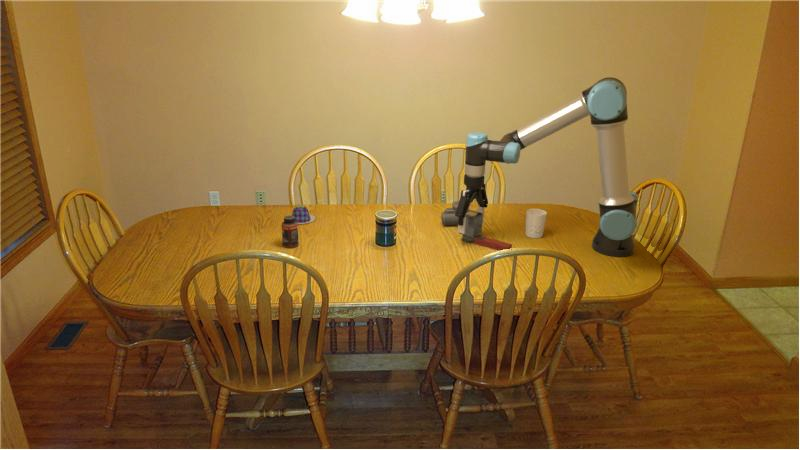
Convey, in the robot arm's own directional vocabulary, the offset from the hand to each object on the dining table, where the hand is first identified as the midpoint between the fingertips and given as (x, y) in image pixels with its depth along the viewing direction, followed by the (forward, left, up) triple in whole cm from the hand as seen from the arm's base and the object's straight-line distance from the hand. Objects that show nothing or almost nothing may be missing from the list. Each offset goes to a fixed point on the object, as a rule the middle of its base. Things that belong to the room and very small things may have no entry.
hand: (470, 227), depth 226 cm
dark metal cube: (0, 0, -2) cm, 2 cm away
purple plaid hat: (+66, +27, -6) cm, 71 cm away
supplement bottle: (+49, +48, -5) cm, 69 cm away
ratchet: (-7, 0, -5) cm, 9 cm away
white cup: (-17, -21, -5) cm, 28 cm away
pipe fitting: (+13, -10, -6) cm, 17 cm away
